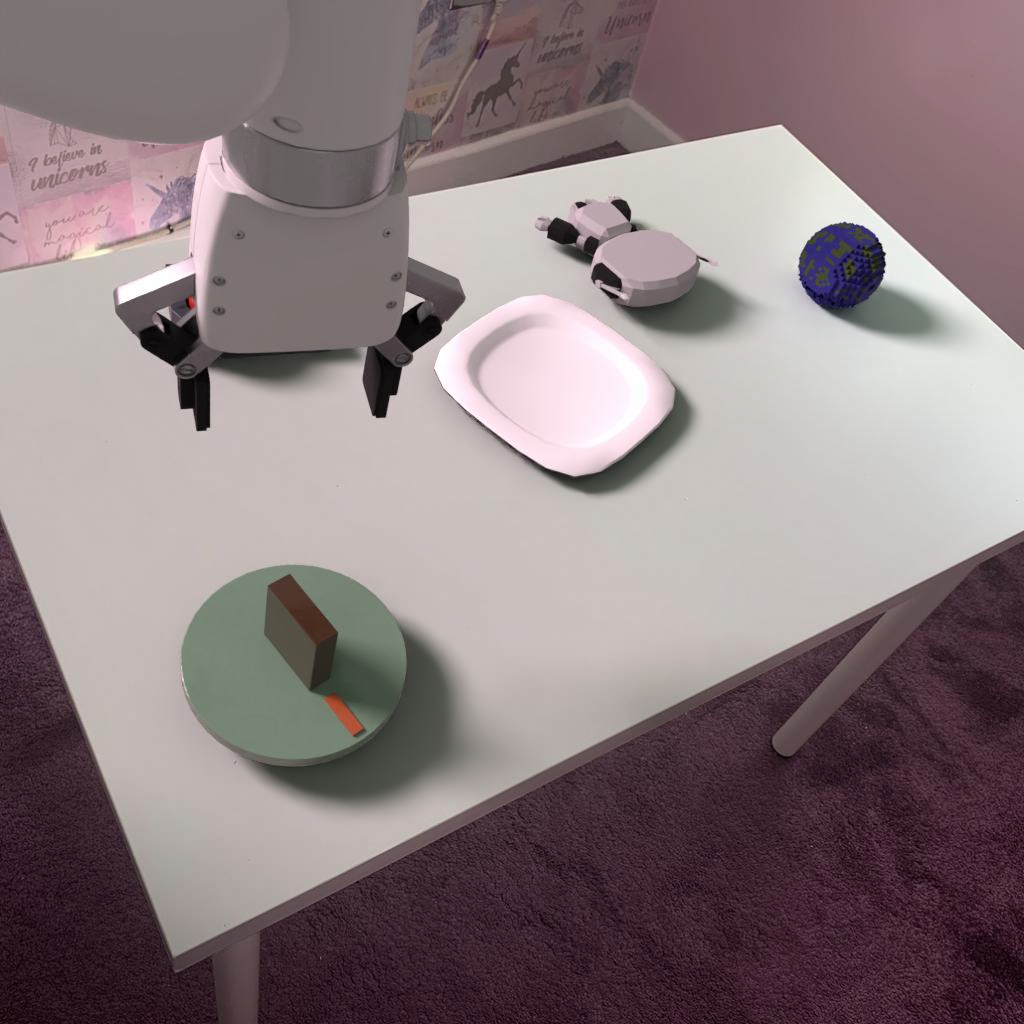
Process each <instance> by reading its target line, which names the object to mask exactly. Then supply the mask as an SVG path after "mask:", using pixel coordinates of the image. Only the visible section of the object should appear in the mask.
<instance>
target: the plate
mask: <svg viewBox="0 0 1024 1024" xmlns="http://www.w3.org/2000/svg"><path fill="white" fill-rule="evenodd" d="M437 355H438V356H437V359H436V361H435V364H434V367H433V371H434V373H435V375H436V377H437V379H438V381H439V384H440V386H441V387H442V389H443V391H444V392H445V394H447V395H448V396H449V397H451V399H452V400H453V401H454V402H455V403H457V405H458V406H460V407H461V409H463V410H464V412H466V413H467V414H468V415H470V416H471V417H472V418H474V419H475V421H477V422H478V423H480V424H481V425H482V426H484V427H485V428H486V429H487V430H489V431H490V432H491V433H492V434H494V435H495V436H496V437H498V438H499V439H500V440H501V441H503V442H504V443H506V444H507V445H508V446H510V447H511V448H512V449H513V450H515V451H516V452H518V453H520V454H521V455H522V456H524V457H526V458H527V459H528V460H530V461H532V462H533V463H535V464H536V465H538V466H540V467H541V468H543V469H544V470H547V471H549V472H554V473H557V474H560V475H564V476H566V477H570V478H572V479H573V478H580V477H585V476H591V475H597V474H600V473H603V471H605V470H607V469H609V468H611V466H612V467H613V465H615V464H616V463H619V461H621V460H622V459H624V458H625V457H626V456H627V455H629V454H630V453H631V452H632V451H633V450H634V449H635V448H637V447H638V446H639V445H641V443H642V442H643V441H645V440H646V439H647V438H648V437H649V436H650V435H651V434H652V433H653V432H655V430H657V429H658V428H659V427H660V425H662V423H663V421H664V420H665V419H666V418H667V417H668V415H669V414H670V413H671V412H672V411H673V409H674V404H675V396H676V388H675V387H674V385H673V384H672V382H671V380H670V378H669V377H668V374H666V372H665V371H664V369H663V368H661V367H660V366H659V365H658V364H657V363H656V362H655V361H654V360H652V358H650V357H649V356H648V355H646V354H645V353H644V351H642V350H641V349H640V348H638V347H637V346H636V345H634V344H633V343H631V342H630V341H628V339H626V338H624V337H623V336H622V335H621V334H619V333H618V332H616V331H615V330H614V329H612V328H611V327H609V326H608V325H606V324H605V323H604V322H602V321H601V320H600V319H598V318H597V317H595V316H594V315H592V314H590V313H589V312H587V311H585V310H583V309H581V308H580V307H578V306H576V305H575V304H573V303H571V302H569V301H566V300H564V299H560V298H556V297H553V296H551V295H547V294H535V295H527V296H526V295H525V296H519V297H517V298H516V299H513V300H510V301H509V302H506V303H505V304H502V305H500V306H498V307H496V308H495V309H494V310H492V311H490V312H489V313H487V314H486V315H484V316H482V317H481V318H479V319H478V320H476V321H475V322H473V323H472V324H470V325H468V326H467V327H466V328H464V329H463V330H461V331H460V332H459V333H457V334H456V335H454V337H452V338H451V339H450V340H449V341H448V342H447V343H446V344H445V345H443V347H442V348H440V350H439V353H438V354H437Z"/></svg>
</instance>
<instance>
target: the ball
mask: <svg viewBox="0 0 1024 1024" xmlns="http://www.w3.org/2000/svg"><path fill="white" fill-rule="evenodd" d="M886 255H887V252H885V251H884V246H883V243H882V242H880V239H879V237H878V236H877V235H876V234H875V233H874V231H872V230H871V229H869V228H868V227H865V225H862V224H861V225H860V224H858V223H856V224H855V223H854V222H848V221H847V222H846V221H843V222H841V221H840V222H838V223H837V222H835V223H833V224H832V223H830V224H829V225H826V226H824V227H822V228H820V230H817V231H815V232H814V234H813V235H812V236H811V237H810V238H809V239H807V241H806V243H805V244H804V247H803V249H802V250H801V252H800V254H799V257H798V265H797V268H798V272H799V273H797V276H798V281H799V282H801V286H802V288H803V289H804V290H805V294H806V295H807V296H808V297H809V298H811V299H812V300H813V301H814V302H815V303H816V304H817V305H819V306H820V305H821V306H824V307H828V308H833V309H838V310H839V309H845V308H846V309H848V308H854V307H856V306H858V305H860V304H862V303H863V302H866V301H867V300H869V298H870V297H871V296H873V294H874V293H875V292H876V291H877V290H878V288H879V287H880V285H881V283H882V281H883V280H884V279H885V277H884V276H885V275H884V274H886V269H885V268H886V266H887V262H886V257H885V256H886Z"/></svg>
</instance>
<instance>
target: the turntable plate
mask: <svg viewBox="0 0 1024 1024" xmlns="http://www.w3.org/2000/svg"><path fill="white" fill-rule="evenodd" d="M181 645H182V646H181V650H180V678H181V686H182V689H183V694H184V697H185V700H186V702H187V704H188V707H189V709H190V710H191V713H192V714H193V716H194V717H195V719H196V720H197V722H198V723H199V724H200V725H201V727H202V728H203V729H204V730H205V731H206V733H207V734H209V735H210V736H211V737H212V738H213V739H214V740H216V742H218V743H219V744H221V745H222V746H224V747H225V748H226V749H228V750H230V751H232V752H233V753H235V754H238V755H239V756H241V757H243V758H246V759H249V760H252V761H255V762H258V763H263V764H267V765H272V766H279V767H309V766H313V765H319V764H324V763H328V762H331V761H334V760H338V759H340V758H342V757H344V756H346V755H348V754H351V753H352V752H354V751H356V750H357V749H359V748H362V747H363V746H364V745H365V744H367V743H368V742H369V741H370V740H372V739H373V738H374V737H375V736H376V735H377V734H378V733H379V732H380V731H381V730H382V729H383V728H384V727H385V725H386V724H387V723H388V721H389V720H390V719H391V717H392V716H393V714H394V712H395V710H396V709H397V706H398V705H399V701H400V698H401V695H402V694H403V690H404V686H405V682H406V676H407V666H408V659H407V658H408V657H407V648H406V644H405V640H404V635H403V633H402V631H401V629H400V625H399V624H398V622H397V621H396V619H395V616H393V613H392V612H391V611H390V609H389V608H388V606H387V605H386V604H385V603H384V602H383V600H381V598H379V597H378V596H377V595H376V594H375V593H374V592H372V591H371V590H370V589H369V588H368V587H366V586H365V585H363V584H361V583H360V582H358V581H357V580H355V579H354V578H351V577H349V576H347V575H345V574H343V573H341V572H338V571H335V570H331V569H328V568H324V567H319V566H314V565H305V564H282V565H280V564H279V565H273V566H269V567H268V566H267V567H264V568H259V569H256V570H253V571H250V572H247V573H245V574H242V575H239V576H238V577H235V578H234V579H232V580H230V581H229V582H227V583H225V584H223V585H222V586H220V587H219V588H218V589H217V590H216V591H215V592H214V593H212V594H211V595H209V597H208V598H207V599H206V600H205V601H204V602H203V603H202V604H201V606H200V607H199V608H198V609H197V611H196V612H195V614H194V615H193V617H192V619H191V621H190V623H189V624H188V626H187V630H186V632H185V634H184V638H183V641H182V644H181Z"/></svg>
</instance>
